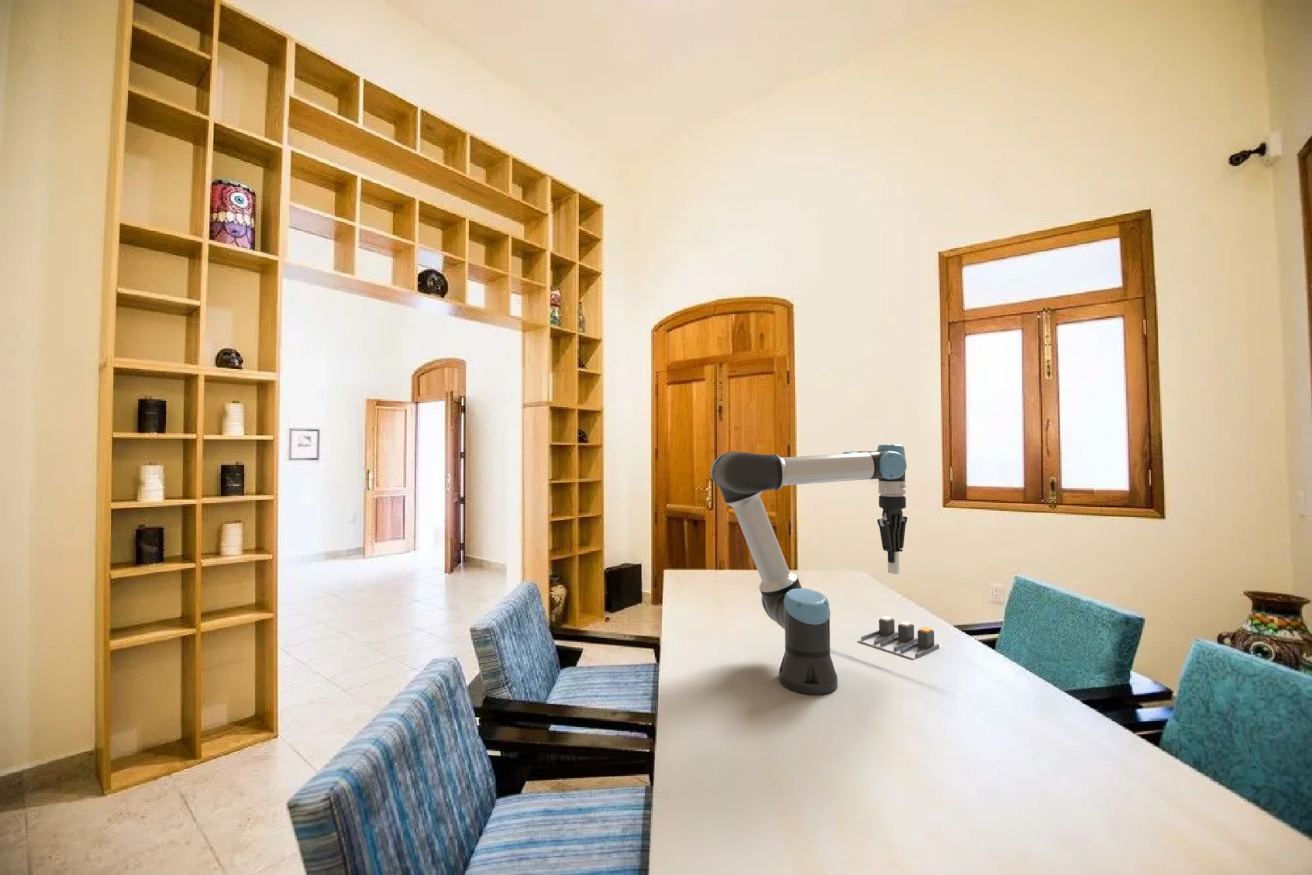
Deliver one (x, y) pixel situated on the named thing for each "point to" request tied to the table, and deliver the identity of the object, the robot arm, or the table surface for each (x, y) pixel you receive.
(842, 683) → the table surface
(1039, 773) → the table surface
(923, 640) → the block
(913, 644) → the panel
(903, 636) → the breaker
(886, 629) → the breaker
